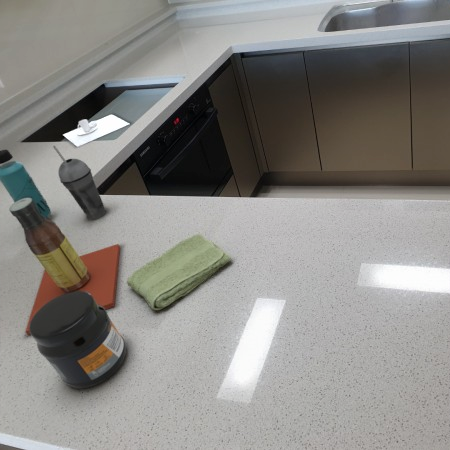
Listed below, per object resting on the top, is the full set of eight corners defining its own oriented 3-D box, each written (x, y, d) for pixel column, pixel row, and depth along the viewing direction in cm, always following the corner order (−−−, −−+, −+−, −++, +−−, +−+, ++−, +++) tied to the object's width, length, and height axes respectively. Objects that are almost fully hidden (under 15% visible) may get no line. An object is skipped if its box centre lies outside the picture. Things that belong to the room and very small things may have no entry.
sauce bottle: (79, 269, 96) (29, 189, 85) (98, 276, 93) (48, 194, 82) (53, 290, 92) (-4, 209, 81) (71, 298, 89) (15, 215, 78)
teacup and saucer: (96, 124, 176) (91, 114, 174) (103, 128, 171) (98, 117, 168) (74, 133, 173) (69, 123, 170) (80, 137, 167) (75, 127, 165)
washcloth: (236, 261, 90) (231, 249, 88) (158, 317, 81) (151, 304, 79) (200, 239, 98) (195, 227, 96) (126, 287, 90) (119, 275, 88)
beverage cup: (117, 208, 117) (80, 137, 106) (94, 224, 113) (53, 152, 101) (99, 204, 121) (62, 135, 110) (76, 220, 116) (35, 149, 105)
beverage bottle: (32, 231, 116) (-14, 162, 105) (27, 222, 121) (-18, 155, 110) (57, 218, 119) (15, 150, 108) (51, 210, 124) (10, 143, 112)
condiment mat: (28, 335, 84) (25, 331, 84) (47, 270, 100) (45, 266, 100) (114, 306, 86) (112, 302, 85) (120, 247, 102) (118, 243, 102)
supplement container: (140, 355, 75) (108, 303, 68) (81, 403, 69) (40, 352, 62) (110, 328, 81) (78, 279, 74) (54, 370, 76) (14, 321, 69)
